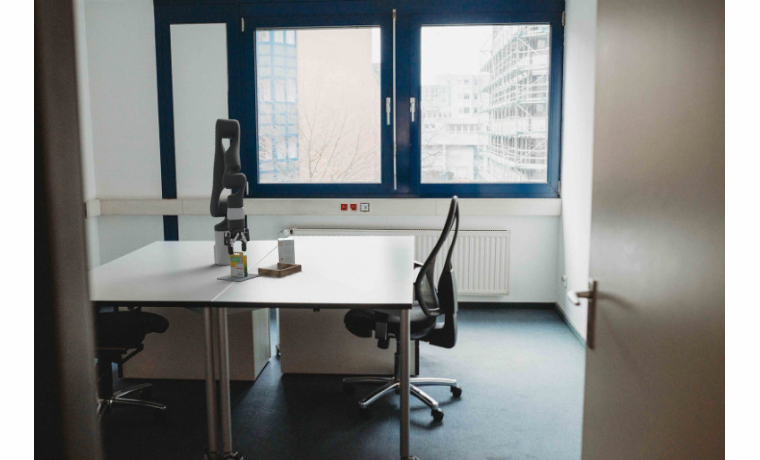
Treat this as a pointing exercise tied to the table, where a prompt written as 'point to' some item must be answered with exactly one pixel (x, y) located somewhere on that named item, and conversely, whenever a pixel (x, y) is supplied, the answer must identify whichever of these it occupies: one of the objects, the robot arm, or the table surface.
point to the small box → (286, 250)
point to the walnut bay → (286, 270)
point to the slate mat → (238, 279)
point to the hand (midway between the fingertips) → (237, 253)
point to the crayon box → (238, 265)
